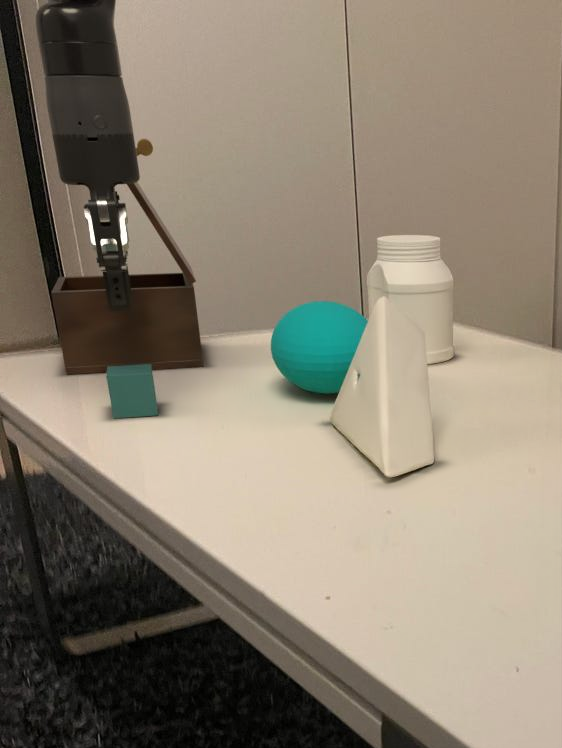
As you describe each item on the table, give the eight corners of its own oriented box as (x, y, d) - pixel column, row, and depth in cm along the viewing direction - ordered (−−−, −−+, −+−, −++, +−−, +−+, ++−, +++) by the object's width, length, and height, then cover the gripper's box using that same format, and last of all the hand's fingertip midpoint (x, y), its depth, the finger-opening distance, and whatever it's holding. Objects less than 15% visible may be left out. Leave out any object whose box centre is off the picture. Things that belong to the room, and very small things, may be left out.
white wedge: (479, 422, 85) (434, 313, 99) (415, 403, 83) (378, 294, 96) (412, 551, 94) (379, 435, 107) (353, 539, 91) (327, 421, 105)
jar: (362, 352, 137) (356, 236, 130) (423, 345, 142) (420, 232, 135) (399, 368, 129) (395, 244, 122) (463, 360, 133) (462, 240, 126)
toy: (393, 405, 112) (389, 313, 107) (278, 411, 109) (270, 317, 104) (372, 371, 127) (368, 289, 122) (271, 376, 124) (263, 292, 119)
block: (113, 418, 106) (106, 375, 104) (114, 408, 110) (107, 366, 108) (157, 415, 107) (151, 372, 105) (157, 405, 111) (151, 363, 109)
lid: (101, 145, 115) (138, 123, 115) (105, 142, 126) (138, 122, 126) (190, 284, 124) (224, 264, 124) (186, 270, 136) (217, 251, 136)
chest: (66, 374, 124) (50, 292, 120) (72, 352, 136) (58, 276, 132) (203, 366, 129) (193, 286, 124) (198, 346, 140) (189, 272, 136)
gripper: (56, 129, 101) (86, 295, 109) (45, 130, 89) (80, 317, 97) (133, 129, 103) (157, 292, 111) (132, 130, 91) (159, 312, 99)
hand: (121, 303), depth 104 cm, fingers open, 8 cm apart
